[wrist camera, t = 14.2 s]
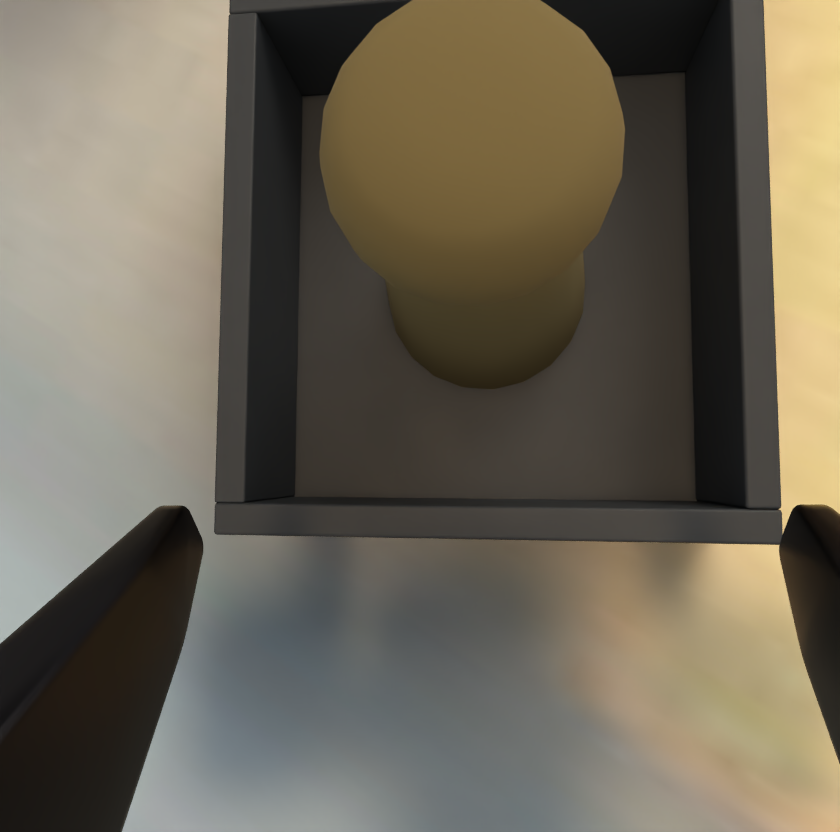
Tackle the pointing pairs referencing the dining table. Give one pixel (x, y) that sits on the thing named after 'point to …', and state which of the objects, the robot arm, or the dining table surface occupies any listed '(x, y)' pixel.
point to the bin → (571, 371)
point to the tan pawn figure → (475, 178)
